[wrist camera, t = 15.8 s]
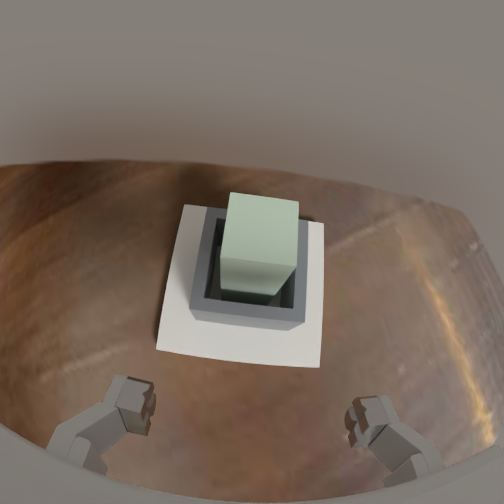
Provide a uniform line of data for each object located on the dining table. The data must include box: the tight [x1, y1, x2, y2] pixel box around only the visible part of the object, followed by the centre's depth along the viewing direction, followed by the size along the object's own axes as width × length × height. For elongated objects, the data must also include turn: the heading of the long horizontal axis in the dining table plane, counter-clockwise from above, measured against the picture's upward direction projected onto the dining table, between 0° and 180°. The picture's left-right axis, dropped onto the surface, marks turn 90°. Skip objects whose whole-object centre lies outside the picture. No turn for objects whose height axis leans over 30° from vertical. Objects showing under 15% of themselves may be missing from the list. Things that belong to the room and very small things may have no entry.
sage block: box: [220, 192, 299, 306], centre depth 23 cm, size 4×4×12 cm
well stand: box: [156, 204, 324, 367], centre depth 26 cm, size 16×16×8 cm
